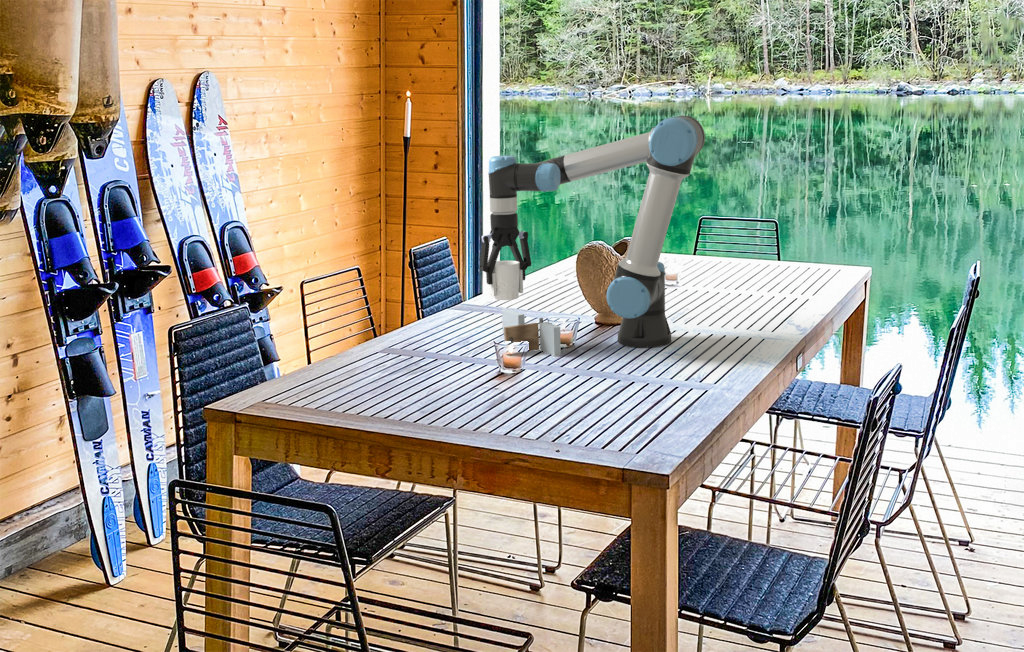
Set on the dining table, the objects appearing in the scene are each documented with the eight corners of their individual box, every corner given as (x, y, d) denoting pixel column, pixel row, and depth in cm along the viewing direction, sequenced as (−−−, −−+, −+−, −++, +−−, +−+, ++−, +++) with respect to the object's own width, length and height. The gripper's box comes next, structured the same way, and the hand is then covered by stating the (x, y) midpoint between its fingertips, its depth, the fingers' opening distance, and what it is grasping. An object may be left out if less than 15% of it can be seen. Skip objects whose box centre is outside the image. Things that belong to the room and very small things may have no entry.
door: (537, 348, 310) (536, 322, 308) (541, 350, 308) (540, 324, 306) (505, 353, 306) (504, 327, 304) (508, 355, 304) (507, 328, 302)
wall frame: (560, 355, 303) (559, 323, 301) (554, 356, 302) (553, 324, 300) (508, 335, 329) (507, 305, 327) (502, 336, 328) (501, 306, 326)
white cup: (526, 297, 312) (525, 261, 309) (508, 301, 306) (507, 266, 303) (505, 294, 317) (503, 259, 314) (486, 299, 311) (485, 263, 308)
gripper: (530, 208, 313) (533, 287, 318) (464, 214, 305) (467, 295, 310) (543, 210, 307) (545, 291, 312) (475, 217, 298) (478, 300, 303)
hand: (506, 293), depth 311 cm, fingers closed on white cup, 8 cm apart
